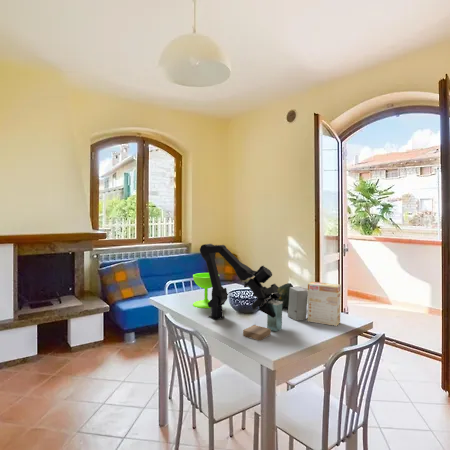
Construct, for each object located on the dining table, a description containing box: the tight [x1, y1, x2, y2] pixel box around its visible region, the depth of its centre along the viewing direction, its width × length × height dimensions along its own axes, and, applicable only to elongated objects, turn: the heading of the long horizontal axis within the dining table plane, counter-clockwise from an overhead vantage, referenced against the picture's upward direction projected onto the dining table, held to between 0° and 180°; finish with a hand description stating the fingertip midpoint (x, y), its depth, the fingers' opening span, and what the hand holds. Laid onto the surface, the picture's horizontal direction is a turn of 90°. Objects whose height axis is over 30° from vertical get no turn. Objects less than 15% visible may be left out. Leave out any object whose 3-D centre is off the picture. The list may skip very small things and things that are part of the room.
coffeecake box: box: [307, 281, 342, 327], centre depth 168 cm, size 15×7×20 cm, turn 58°
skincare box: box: [287, 286, 308, 322], centre depth 174 cm, size 8×7×16 cm
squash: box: [275, 282, 294, 309], centre depth 195 cm, size 14×15×15 cm
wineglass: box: [192, 272, 212, 309], centre depth 199 cm, size 16×16×18 cm
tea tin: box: [266, 300, 283, 332], centre depth 157 cm, size 5×5×13 cm
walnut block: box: [242, 324, 272, 341], centre depth 149 cm, size 9×9×3 cm
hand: (277, 315), depth 156 cm, fingers closed on tea tin, 5 cm apart
